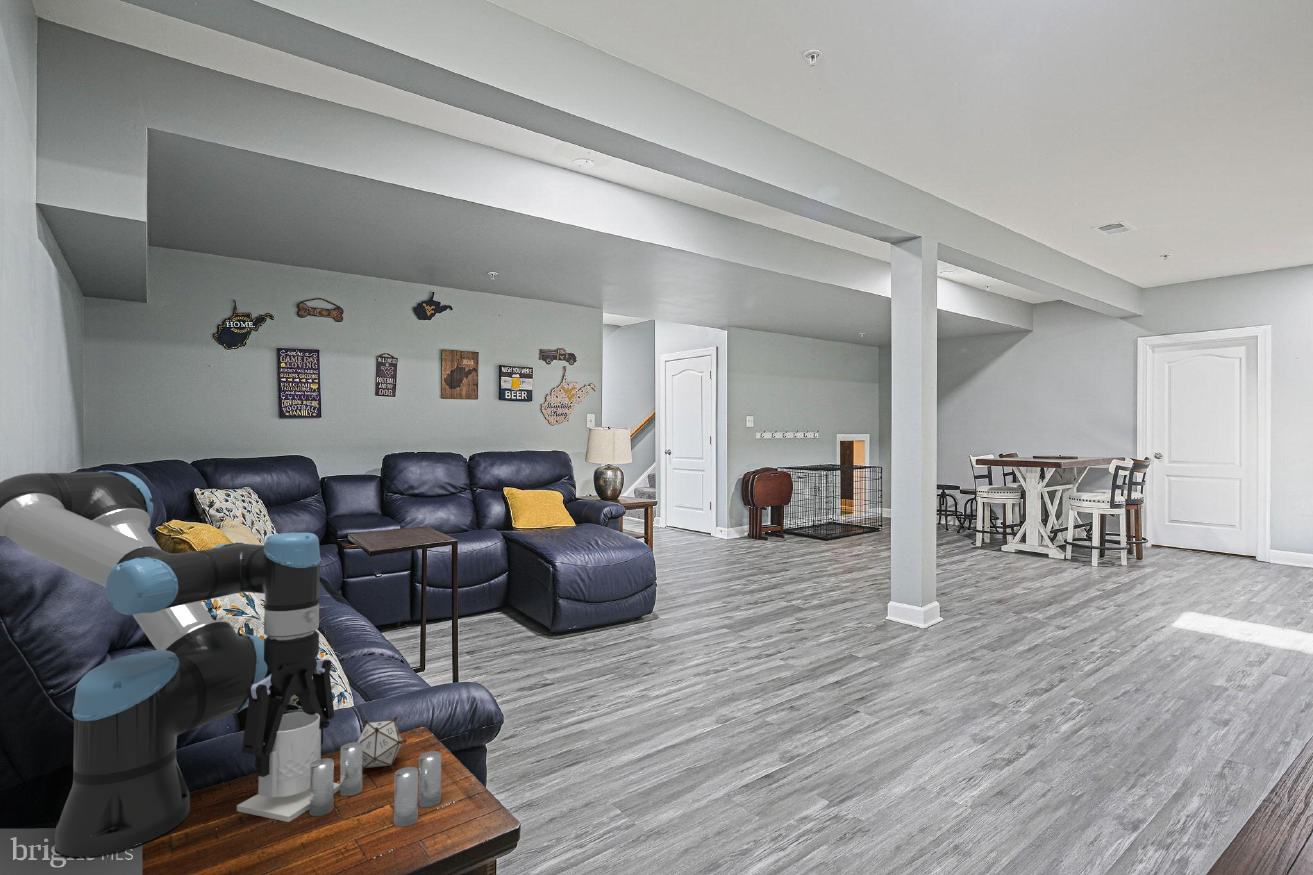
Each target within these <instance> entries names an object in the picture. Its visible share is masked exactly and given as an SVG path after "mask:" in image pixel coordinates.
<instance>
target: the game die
mask: <svg viewBox="0 0 1313 875" xmlns="http://www.w3.org/2000/svg"><path fill="white" fill-rule="evenodd" d="M397 720H398V715H396V716H394V717H393V719H392V720H381V721H370V722H369V720H368V719H367V718H364V723H365V725H364V727H363V729H362V732H361V733H360V735H359V737H358V739H357V741H356V742H360V743H362V744H363V763H362V773H364V772H365V769H369V768H371V769H372V768H380V767H389V766H390V769H391V770H395V766H394V764H393V763H394V761H395V759H396V757H397V755H398V753H399V751H400V750H401V747H402V745H403V743H404V744H406V743H407V742H408V740H407V739H403V738H402V735H401V732H400V730H399V728H398V725H397V723H396V721H397Z"/></svg>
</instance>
